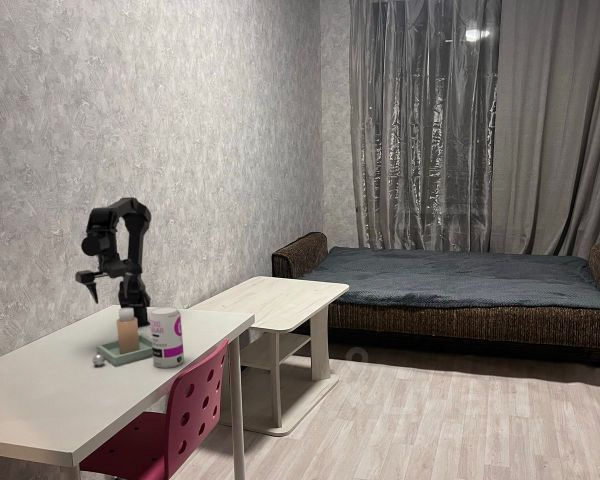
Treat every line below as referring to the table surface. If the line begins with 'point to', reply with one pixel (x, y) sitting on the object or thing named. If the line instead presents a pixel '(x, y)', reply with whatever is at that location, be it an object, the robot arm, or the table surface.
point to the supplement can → (166, 337)
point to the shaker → (127, 331)
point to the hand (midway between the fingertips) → (112, 300)
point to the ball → (98, 360)
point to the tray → (116, 359)
